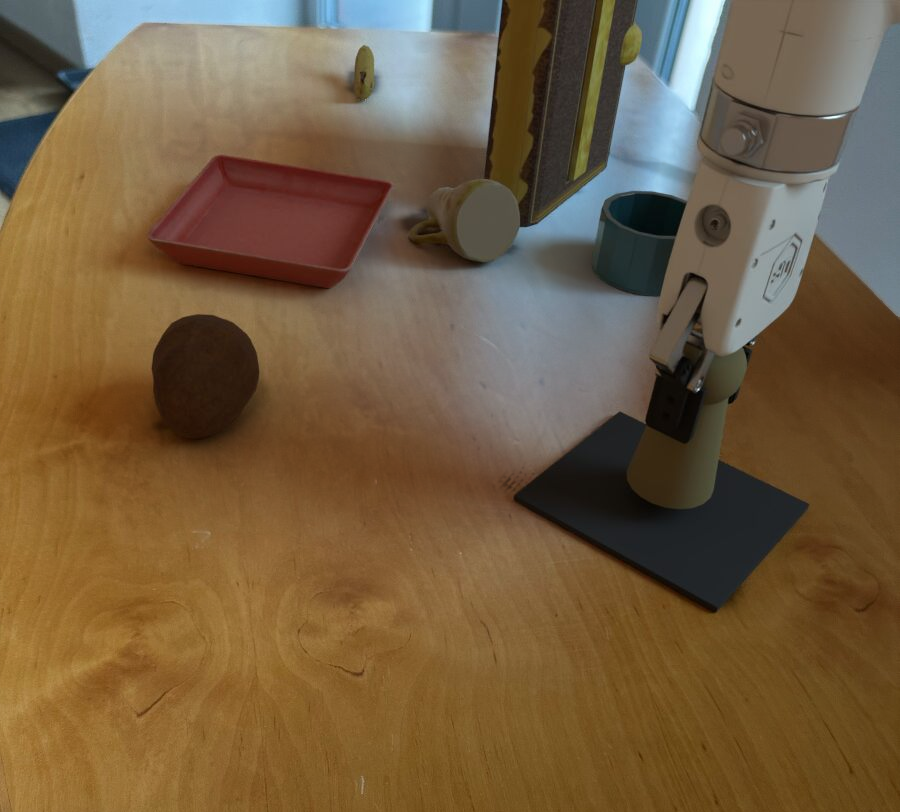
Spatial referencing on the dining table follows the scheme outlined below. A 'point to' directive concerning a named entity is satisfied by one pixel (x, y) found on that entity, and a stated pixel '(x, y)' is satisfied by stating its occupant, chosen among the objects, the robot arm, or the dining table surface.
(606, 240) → the crock
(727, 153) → the robot arm
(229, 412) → the potato
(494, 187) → the mug
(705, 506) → the mat
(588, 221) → the dining table surface
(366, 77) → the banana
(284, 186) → the plant saucer
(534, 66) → the book
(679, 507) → the olive pawn piece
